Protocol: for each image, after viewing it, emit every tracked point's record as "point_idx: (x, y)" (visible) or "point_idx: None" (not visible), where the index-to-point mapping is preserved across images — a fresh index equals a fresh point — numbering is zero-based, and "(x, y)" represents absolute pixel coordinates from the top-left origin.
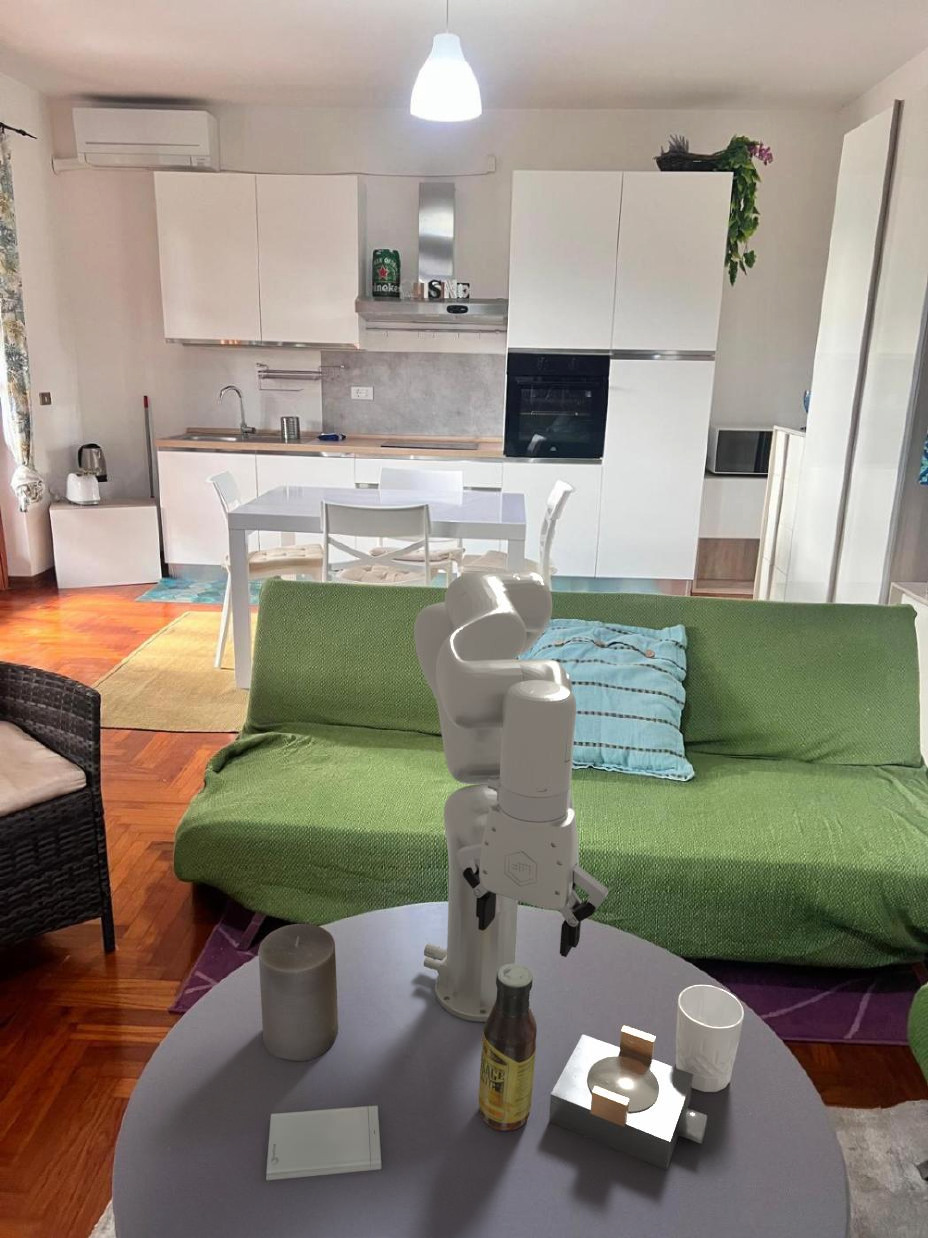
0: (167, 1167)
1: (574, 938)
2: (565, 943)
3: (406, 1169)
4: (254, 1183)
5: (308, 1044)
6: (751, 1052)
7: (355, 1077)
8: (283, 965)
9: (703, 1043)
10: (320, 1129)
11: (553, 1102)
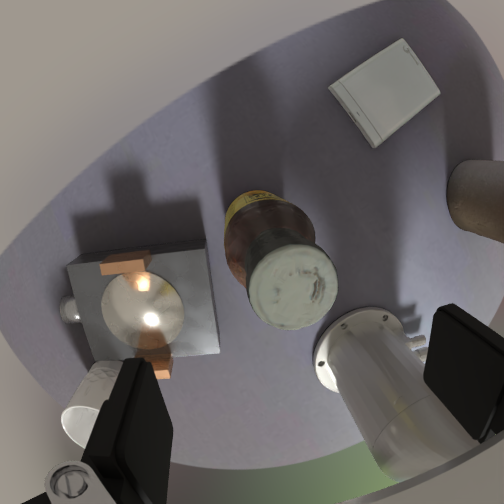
0: (455, 30)
1: (98, 424)
2: (115, 393)
3: (306, 98)
4: (403, 34)
5: (464, 172)
6: None
7: (411, 175)
8: None
9: (86, 391)
10: (400, 94)
11: (201, 246)
